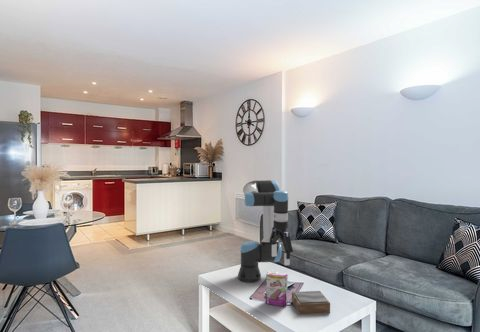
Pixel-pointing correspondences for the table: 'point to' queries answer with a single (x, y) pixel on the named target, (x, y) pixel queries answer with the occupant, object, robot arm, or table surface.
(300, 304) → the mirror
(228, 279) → the table surface
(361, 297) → the table surface
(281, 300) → the candy bar box
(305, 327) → the table surface
